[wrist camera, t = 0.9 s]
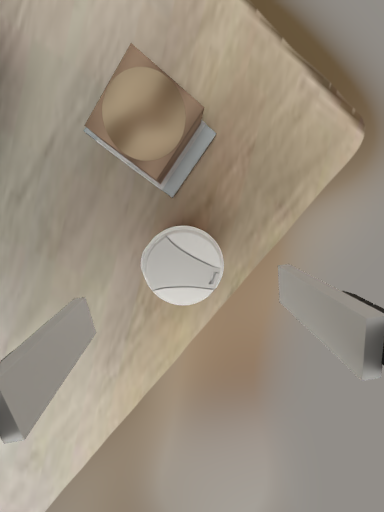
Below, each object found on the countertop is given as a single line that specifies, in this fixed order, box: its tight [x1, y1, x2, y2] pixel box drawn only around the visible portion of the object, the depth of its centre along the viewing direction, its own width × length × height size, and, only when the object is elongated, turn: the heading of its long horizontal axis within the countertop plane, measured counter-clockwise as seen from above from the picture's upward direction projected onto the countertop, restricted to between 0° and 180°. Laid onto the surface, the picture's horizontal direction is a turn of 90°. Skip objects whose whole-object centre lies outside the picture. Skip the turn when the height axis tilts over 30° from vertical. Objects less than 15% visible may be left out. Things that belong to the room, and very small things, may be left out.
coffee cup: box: [141, 226, 224, 305], centre depth 26 cm, size 8×8×15 cm
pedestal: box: [84, 43, 204, 184], centre depth 26 cm, size 10×10×5 cm
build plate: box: [84, 120, 216, 198], centre depth 29 cm, size 15×11×1 cm
